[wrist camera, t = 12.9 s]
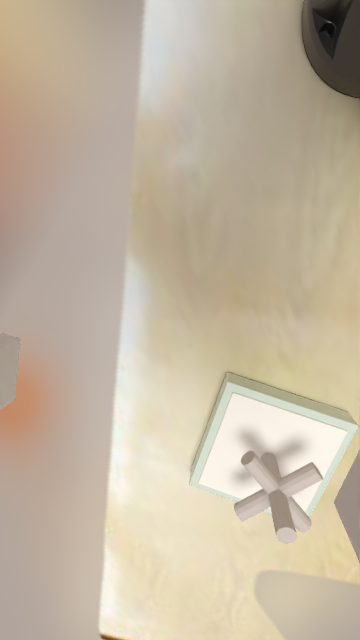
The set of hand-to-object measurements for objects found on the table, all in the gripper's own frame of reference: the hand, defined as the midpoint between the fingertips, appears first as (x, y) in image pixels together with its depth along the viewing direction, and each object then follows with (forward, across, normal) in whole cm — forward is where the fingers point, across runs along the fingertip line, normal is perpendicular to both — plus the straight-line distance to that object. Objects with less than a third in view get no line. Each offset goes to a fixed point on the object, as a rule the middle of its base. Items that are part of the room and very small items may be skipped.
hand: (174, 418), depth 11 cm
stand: (+26, +12, -17) cm, 33 cm away
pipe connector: (+23, +12, -17) cm, 31 cm away
